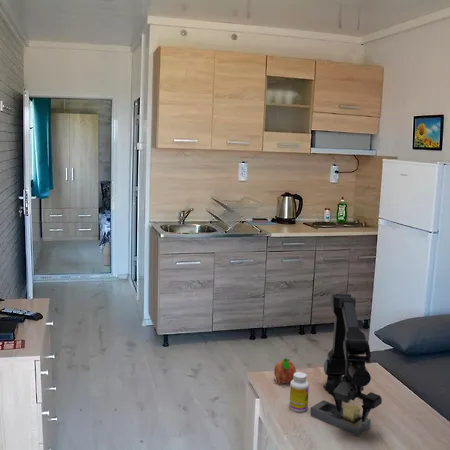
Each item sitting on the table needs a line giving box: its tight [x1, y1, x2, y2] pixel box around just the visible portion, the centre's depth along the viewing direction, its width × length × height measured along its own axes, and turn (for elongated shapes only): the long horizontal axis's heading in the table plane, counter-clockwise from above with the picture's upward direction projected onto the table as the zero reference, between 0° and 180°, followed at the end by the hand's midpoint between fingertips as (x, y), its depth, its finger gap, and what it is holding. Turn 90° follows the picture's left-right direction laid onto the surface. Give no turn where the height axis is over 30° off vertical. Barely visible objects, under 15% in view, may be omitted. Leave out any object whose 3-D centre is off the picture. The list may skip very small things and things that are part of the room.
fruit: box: [273, 357, 297, 384], centre depth 212 cm, size 9×10×10 cm
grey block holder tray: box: [309, 399, 372, 437], centre depth 183 cm, size 8×19×3 cm, turn 46°
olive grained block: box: [342, 402, 361, 424], centre depth 179 cm, size 4×4×7 cm
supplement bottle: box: [288, 371, 310, 413], centre depth 190 cm, size 7×7×13 cm
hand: (351, 416), depth 179 cm, fingers open, 9 cm apart
